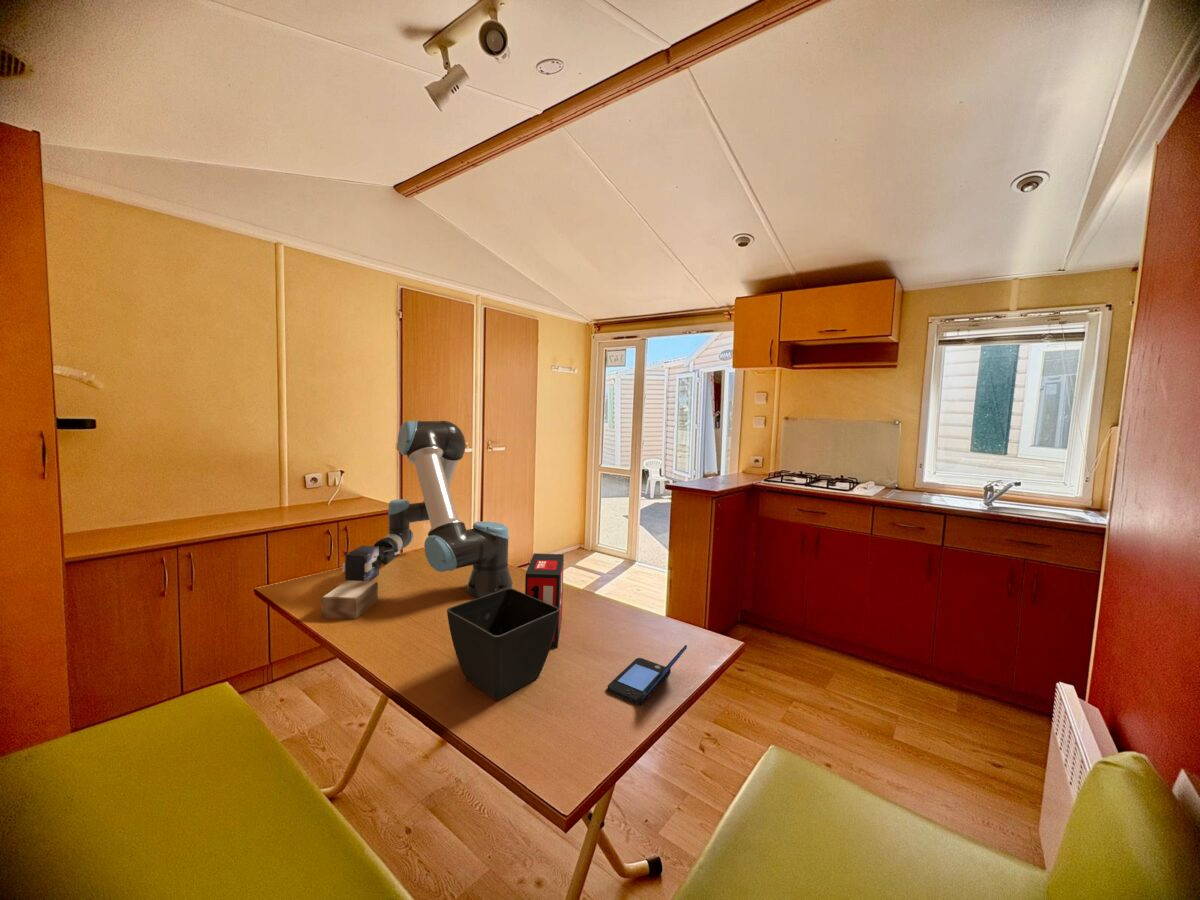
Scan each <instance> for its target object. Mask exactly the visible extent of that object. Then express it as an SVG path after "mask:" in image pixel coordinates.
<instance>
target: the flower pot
mask: <svg viewBox="0 0 1200 900" xmlns="http://www.w3.org/2000/svg"><path fill="white" fill-rule="evenodd" d="M559 611H560V609H559V608H557V607H555V606H553V605H550V604H548V603H546V602H543V601H541V600H538V599H536V598H534V597H531V596H529V595H527V594H525V592H522V591H519V590H517V589H514V588H513V587H512V588H507V589H504V590H501V591H498V592H495V593H492V594H489V595H486V596H483V597H480V598H478V597H476V598H474V599H471V600H469V601H465V602H462V603H460V604H457V605H454V606H451V607H449V608H447V609H446V615H447V621H448V626H449V631H450V637H451V640H452V645H453V648H454V652H455V655H456V658H457V662H458V664H459V666H460V670H461V671H462V675H463V676H464V679H465V680H467V681H468V682H469V683H471V684H473V685H474V686H475V687H477V688H478V689H480V690H481V691H483V692H484V693H485V694H487V695H488V696H490V697H491V698H492V699H494V700H500V699H502V698H505V697H507V696H508V695H510V694H512V693H513V692H516V691H517V690H519V689H520V688H523V687H524V686H526V685H528V684H529V683H531V682H533V681H535V680H536V679H538V678H539V677H540V675H541V673H542V671H543V669H544V666H545V663H546V662H547V661H546V660H547V659H548V656H549V653H550V650H551V648H550V647H551V644H552V641H553V638H554V634H555V630H556V626H557V622H558V617H559Z"/></svg>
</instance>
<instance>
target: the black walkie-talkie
mask: <svg viewBox="0 0 1200 900" xmlns="http://www.w3.org/2000/svg"><path fill="white" fill-rule="evenodd" d="M687 648H688V645H686V644H685V645H684V646H683V647H682V648H681V649H680V650H679V651H678V652H677V654H676V655H675V656H674V657H673V659H671V660H670V661H669V663H668V664H667V665H666V666H664V665H662V664H659V663H656V662H653V661H650V660H649V659H648V660H647V659H645V658H643V657H638V658H635V659H634V660H633V661H632V662H631V663H629V665H627V667H625V668H624V669H623V670H622V671H621V672H620V673H619V674H618V675H617V676H616V677H615V678H613V680H612V681H611V682H610V683H608V684H607V689H606V690H607V692H608V693H610V694H611V695H614V696H616V697H618V698H621V699H622V700H626V701H627V702H630V703H632V704H634V705H636V706H638V707H643V706H644V704H645V703H646V702H647V700H649V698H650V696H652V695H653V693H654V691H655V690H656V688H658V687H659V686H660V685H661V684H662V683H663V682H664V681H665V680H666V679H667V677H669V676H670V675H671V673H672V672H671V671H672V669H671V668H672V666H674V664H675V663H676V662H677V661H678V660H679V659H680V657H681V656H682V654H684V652H685V651H686V650H687ZM657 686H658V687H657Z"/></svg>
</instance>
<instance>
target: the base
mask: <svg viewBox="0 0 1200 900" xmlns="http://www.w3.org/2000/svg"><path fill="white" fill-rule="evenodd" d="M378 585H379V583H378V581H372V580H371V581H344V582H342V583H341V584H340V585H338V586H337V587H335V588H334V589H332V590H331V591H330V592H328V593H326V594H325V595H323V596H321V598H320V602H321V603H320V605H321V619H342V620H357V619H358V618H359V617H361V615H363V614H364V613H365V612H366V611H367V610H369V609H370V608H371V607H372V606H373V605H375V604H376V602H378V600H379V595H378V594H379V591H378V590H379V589H378V588H379V586H378Z"/></svg>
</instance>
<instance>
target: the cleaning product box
mask: <svg viewBox="0 0 1200 900" xmlns="http://www.w3.org/2000/svg"><path fill="white" fill-rule="evenodd" d="M564 557H565V556H564V553H563V554H562V553H561V554H559V553H535V552H534V553H533V554H532V557H531V559H530V561H529V565H528V567H527V568H526V571H525V575H524V576H525V582H524V583H525V585H524V594H527V595H529V596H531V597H534V598H536V599H538V600H541V601H543V602H546V603H548V604H550V605H553V606H555V607H557V608H559V609H560V611H559V617H558V622H557V626H556V630H555V634H554V638H553V641H552V644H551V647H550V649H551V648H552V649H559V648H558V647H559V641H560V640H559V639H560V634H561V628H562V620H563V619H562V618H563V598H564V597H563V596H564V595H563V594H564V593H563V591H564V589H563V588H564V561H565V560H564Z"/></svg>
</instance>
